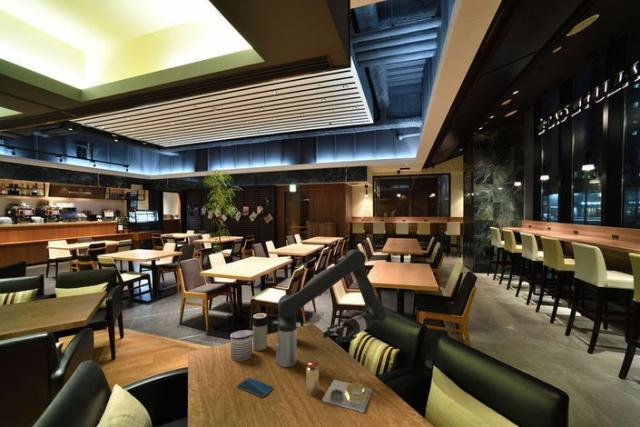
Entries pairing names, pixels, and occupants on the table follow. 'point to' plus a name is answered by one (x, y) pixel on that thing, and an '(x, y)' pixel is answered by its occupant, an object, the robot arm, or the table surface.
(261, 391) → the smartphone
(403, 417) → the table surface
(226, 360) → the table surface
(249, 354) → the can
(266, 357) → the table surface
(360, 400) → the fitting plate
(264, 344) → the travel mug
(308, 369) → the brass valve
